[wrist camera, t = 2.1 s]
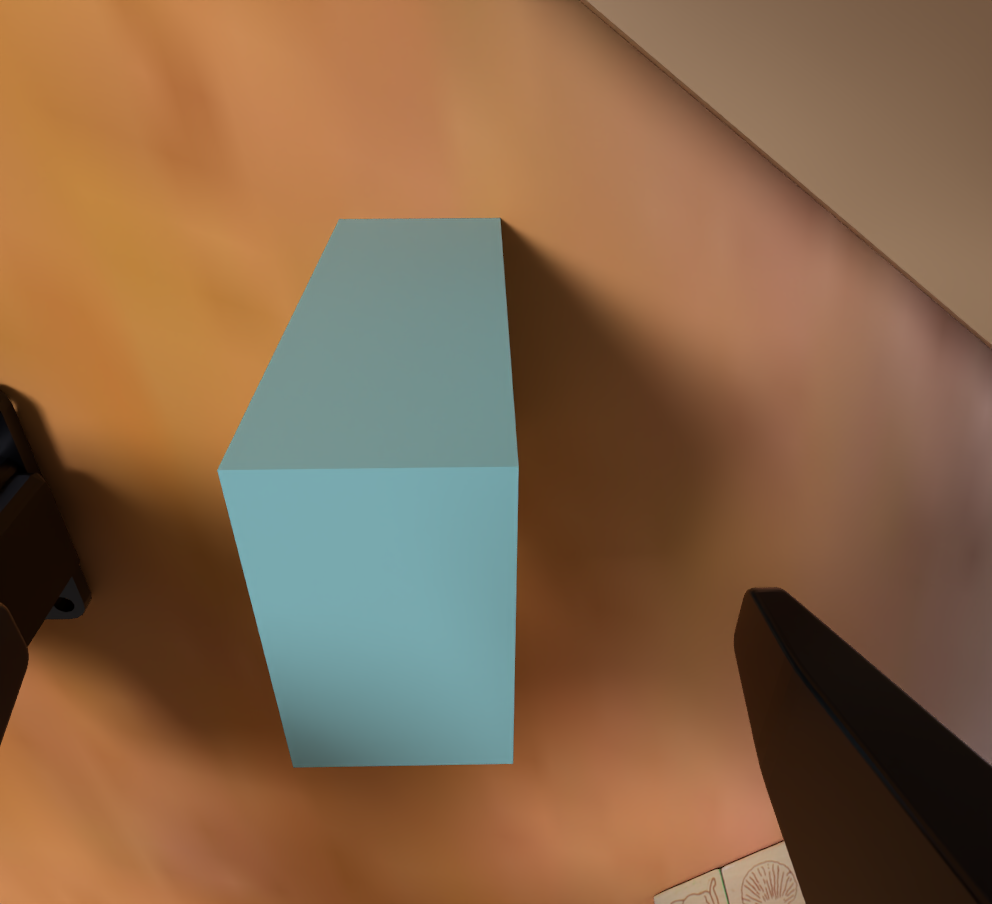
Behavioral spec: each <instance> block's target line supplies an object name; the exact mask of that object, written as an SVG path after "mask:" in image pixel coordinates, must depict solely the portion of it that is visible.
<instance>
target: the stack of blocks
mask: <svg viewBox="0 0 992 904" xmlns="http://www.w3.org/2000/svg"><path fill="white" fill-rule="evenodd" d="M654 904H805V901H804V898H803V895H802V892H801V889H800V886H799V883H798V880H797V877H796V874H795V871H794V868H793V865H792V862H791V860H790V857H789V854H788V851H787V848H786V845H785V842H784V841H783V842H781V843H778V844H776V845H774V846H771V847H769V848H766V849H764V850H761V851H759V852H757V853H754V854H752V855H750V856H747V857H745V858H743V859H740V860H738V861H735V862H733V863H731V864H728V865H726V866H724V867H723V868H722V869H715V870H713V871H710V872H708V873H706V874H704V875H701V876H699V877H696V878H694V879H692V880H690V881H687V882H685V883H683V884H680V885H678V886H676V887H673V888H671V889H668V890H666V891H664V892H661V893H660V894H658V895H656V896H654Z"/></svg>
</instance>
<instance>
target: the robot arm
mask: <svg viewBox="0 0 992 904" xmlns="http://www.w3.org/2000/svg"><path fill="white" fill-rule="evenodd" d="M79 562H80V561H79V558H78V556H77V553H76V551H75V549H74V546H73V544H72V541H71V539H70V536H69V534H68V532H67V529H66V527H65V524H64V522H63V520H62V517H61V515H60V512H59V510H58V508H57V505H56V503H55V500H54V498H53V496H52V493H51V491H50V488H49V486H48V484H47V482H46V481H45V480H44V479H43V477H42V474H41V472H40V470H39V467H38V465H37V462H36V460H35V458H34V455H33V453H32V450H31V448H30V446H29V443H28V441H27V438H26V436H25V434H24V431H23V429H22V426H21V424H20V422H19V419H18V417H17V415H16V412H15V410H14V407H13V405H12V403H11V401H10V400H9V398H8V397H7V396H6V395H5V394H4V393H3V392H2V391H0V745H1V742H2V739H3V736H4V733H5V731H6V728H7V725H8V722H9V719H10V716H11V713H12V710H13V707H14V704H15V702H16V699H17V696H18V693H19V690H20V687H21V684H22V681H23V678H24V675H25V673H26V670H27V666H28V660H29V654H28V648H27V647H28V645H29V644H30V642H31V641H32V639H33V637H34V636H35V634H36V633H37V631H38V629H39V628H40V626H41V625H42V623H43V622H44V620H45V619H73V618H78V617H79V616H81V615H83V613H84V611H85V609H86V608H87V606H88V604H89V603H90V601H91V599H92V597H91V592H90V589H89V587H88V585H87V582H86V580H85V577H84V575H83V573H82V570H81V568H80V565H79ZM66 598H67V599H66ZM68 599H69V600H68ZM734 650H735V656H736V660H737V665H738V670H739V674H740V679H741V683H742V688H743V693H744V697H745V702H746V707H747V711H748V716H749V720H750V725H751V730H752V734H753V739H754V744H755V748H756V752H757V757H758V761H759V765H760V769H761V772H762V775H763V779H764V782H765V785H766V788H767V791H768V794H769V797H770V800H771V803H772V806H773V809H774V812H775V815H776V818H777V821H778V824H779V827H780V830H781V833H782V836H783V839H784V842H785V845H786V848H787V851H788V854H789V857H790V860H791V862H792V865H793V868H794V871H795V874H796V877H797V880H798V883H799V886H800V889H801V892H802V895H803V898H804V901H805V904H992V766H991V765H990V764H989V763H988V762H986V761H985V760H984V759H983V758H982V757H980V756H979V755H978V754H977V753H976V752H975V751H973V750H972V749H971V748H970V747H969V746H968V745H966V744H965V743H964V742H963V741H962V740H960V739H959V738H958V737H957V736H956V735H955V734H953V733H952V732H951V731H950V730H949V729H948V728H946V727H945V726H944V725H943V724H942V723H940V722H939V721H938V720H937V719H936V718H935V717H933V716H932V715H931V714H930V713H929V712H928V711H926V710H925V709H924V708H923V707H922V706H921V705H919V704H918V703H917V702H916V701H915V700H913V699H912V698H911V697H910V696H909V695H908V694H906V693H905V692H904V691H903V690H902V689H901V688H899V687H898V686H897V685H896V684H895V683H893V682H892V681H891V680H890V679H889V678H888V677H886V676H885V675H884V674H883V673H882V672H881V671H879V670H878V669H877V668H876V667H875V666H873V665H872V664H871V663H870V662H869V661H868V660H866V659H865V658H864V657H863V656H862V655H861V654H859V653H858V652H857V651H856V650H855V649H854V648H852V647H851V646H850V645H849V644H848V643H846V642H845V641H844V640H843V639H842V638H841V637H839V636H838V635H837V634H836V633H835V632H834V631H832V630H831V629H830V628H829V627H828V626H826V625H825V624H824V623H823V622H822V621H821V620H819V619H818V618H817V617H816V616H815V615H814V614H812V613H811V612H810V611H809V610H808V609H806V608H805V607H804V606H803V605H802V604H801V603H799V602H798V601H797V600H796V599H795V598H794V597H792V596H791V595H790V594H789V593H788V592H786V591H785V590H783V589H781V588H777V587H772V588H751V589H749V590H747V592H746V593H745V595H744V598H743V602H742V606H741V610H740V614H739V618H738V622H737V626H736V630H735V634H734Z"/></svg>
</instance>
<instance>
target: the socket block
mask: <svg viewBox="0 0 992 904" xmlns="http://www.w3.org/2000/svg"><path fill="white" fill-rule="evenodd" d="M579 1H581V2H582V3H583V4H584V5H585V6H586V7H588V8H589V9H590V10H591V11H592V12H594V13H595V14H596V15H597V16H598V17H599V18H601V19H602V20H603V21H604V22H605V23H607V24H608V25H609V26H610V27H611V28H612V29H614V30H615V31H616V32H617V33H618V34H620V35H621V36H622V37H623V38H624V39H625V40H627V41H628V42H629V43H630V44H631V45H633V46H634V47H635V48H636V49H637V50H638V51H640V52H641V53H642V54H643V55H644V56H646V57H647V58H648V59H649V60H650V61H651V62H653V63H654V64H655V65H656V66H657V67H659V68H660V69H661V70H662V71H663V72H664V73H666V74H667V75H668V76H669V77H670V78H672V79H673V80H674V81H675V82H676V83H677V84H679V85H680V86H681V87H682V88H683V89H685V90H686V91H687V92H688V93H689V94H690V95H692V96H693V97H694V98H695V99H696V100H697V101H699V102H700V103H701V104H702V105H703V106H705V107H706V108H707V109H708V110H709V111H710V112H712V113H713V114H714V115H715V116H716V117H718V118H719V119H720V120H721V121H722V122H723V123H725V124H726V125H727V126H728V127H729V128H731V129H732V130H733V131H734V132H735V133H736V134H738V135H739V136H740V137H741V138H742V139H744V140H745V141H746V142H747V143H748V144H749V145H751V146H752V147H753V148H754V149H755V150H757V151H758V152H759V153H760V154H761V155H762V156H764V157H765V158H766V159H767V160H768V161H770V162H771V163H772V164H773V165H774V166H775V167H777V168H778V169H779V170H780V171H781V172H783V173H784V174H785V175H786V176H787V177H788V178H790V179H791V180H792V181H793V182H794V183H796V184H797V185H798V186H799V187H800V188H801V189H803V190H804V191H805V192H806V193H807V194H809V195H810V196H811V197H812V198H813V199H814V200H816V201H817V202H818V203H819V204H820V205H822V206H823V207H824V208H825V209H826V210H827V211H829V212H830V213H831V214H832V215H833V216H835V217H836V218H837V219H838V220H839V221H840V222H842V223H843V224H844V225H845V226H846V227H848V228H849V229H850V230H851V231H852V232H853V233H855V234H856V235H857V236H858V237H859V238H861V239H862V240H863V241H864V242H865V243H866V244H868V245H869V246H870V247H871V248H872V249H874V250H875V251H876V252H877V253H878V254H879V255H881V256H882V257H883V258H884V259H885V260H886V261H888V262H889V263H890V264H891V265H892V266H894V267H895V268H896V269H897V270H898V271H899V272H901V273H902V274H903V275H904V276H905V277H907V278H908V279H909V280H910V281H911V282H912V283H914V284H915V285H916V286H917V287H918V288H920V289H921V290H922V291H923V292H924V293H925V294H927V295H928V296H929V297H930V298H931V299H933V300H934V301H935V302H936V303H937V304H938V305H940V306H941V307H942V308H943V309H944V310H946V311H947V312H948V313H949V314H950V315H951V316H953V317H954V318H955V319H956V320H957V321H959V322H960V323H961V324H962V325H963V326H964V327H966V328H967V329H968V330H969V331H970V332H972V333H973V334H974V335H975V336H976V337H977V338H979V339H980V340H981V341H982V342H983V343H985V344H986V345H987V346H988V347H989V348H990V349H992V0H579Z"/></svg>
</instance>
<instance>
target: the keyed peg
mask: <svg viewBox="0 0 992 904" xmlns="http://www.w3.org/2000/svg"><path fill="white" fill-rule="evenodd" d="M217 471H218V474H219V478H220V482H221V486H222V490H223V494H224V498H225V502H226V506H227V510H228V514H229V518H230V521H231V525H232V529H233V533H234V537H235V541H236V545H237V549H238V553H239V557H240V561H241V564H242V568H243V572H244V576H245V580H246V584H247V588H248V592H249V596H250V600H251V604H252V607H253V611H254V615H255V619H256V623H257V627H258V631H259V635H260V639H261V643H262V647H263V650H264V654H265V658H266V662H267V666H268V670H269V674H270V678H271V682H272V686H273V690H274V693H275V697H276V701H277V705H278V709H279V713H280V717H281V721H282V725H283V729H284V733H285V736H286V740H287V744H288V748H289V752H290V756H291V760H292V764H293V767H351V766H409V765H467V764H513V738H514V686H515V633H516V581H517V528H518V475H519V464H518V451H517V437H516V424H515V410H514V397H513V383H512V369H511V356H510V342H509V329H508V315H507V302H506V288H505V275H504V261H503V247H502V234H501V220H500V218H440V219H339V221H338V223H337V225H336V227H335V229H334V231H333V233H332V235H331V237H330V239H329V241H328V243H327V245H326V247H325V250H324V252H323V254H322V256H321V258H320V260H319V262H318V264H317V266H316V268H315V270H314V272H313V274H312V276H311V278H310V280H309V283H308V285H307V287H306V289H305V291H304V293H303V295H302V297H301V299H300V301H299V303H298V305H297V307H296V309H295V311H294V313H293V315H292V318H291V320H290V322H289V324H288V326H287V328H286V330H285V332H284V334H283V336H282V338H281V340H280V342H279V344H278V346H277V348H276V350H275V353H274V355H273V357H272V359H271V361H270V363H269V365H268V367H267V369H266V371H265V373H264V375H263V377H262V379H261V381H260V383H259V385H258V388H257V390H256V392H255V394H254V396H253V398H252V400H251V402H250V404H249V406H248V408H247V410H246V412H245V414H244V416H243V418H242V420H241V423H240V425H239V427H238V429H237V431H236V433H235V435H234V437H233V439H232V441H231V443H230V445H229V447H228V449H227V451H226V453H225V456H224V458H223V460H222V462H221V464H220V466H219V468H218V470H217Z"/></svg>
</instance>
